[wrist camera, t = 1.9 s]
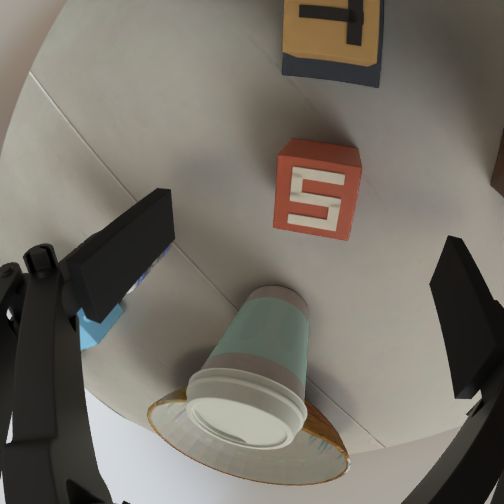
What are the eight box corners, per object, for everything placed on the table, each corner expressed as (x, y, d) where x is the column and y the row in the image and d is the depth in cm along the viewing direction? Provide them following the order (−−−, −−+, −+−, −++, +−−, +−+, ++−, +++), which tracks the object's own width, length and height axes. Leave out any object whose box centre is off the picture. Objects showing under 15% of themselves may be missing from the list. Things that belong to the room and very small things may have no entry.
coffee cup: (221, 272, 27) (157, 382, 18) (320, 270, 24) (294, 402, 15) (243, 340, 31) (201, 441, 22) (327, 343, 29) (306, 458, 19)
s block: (290, 138, 20) (277, 154, 16) (358, 148, 19) (362, 167, 15) (285, 199, 22) (272, 229, 18) (348, 209, 21) (348, 242, 17)
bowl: (147, 378, 43) (123, 419, 36) (241, 304, 29) (210, 371, 22) (271, 451, 47) (259, 489, 40) (395, 414, 33) (393, 469, 26)
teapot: (107, 255, 30) (63, 299, 24) (143, 298, 32) (106, 346, 26) (68, 288, 36) (34, 324, 30) (97, 321, 38) (67, 359, 32)
